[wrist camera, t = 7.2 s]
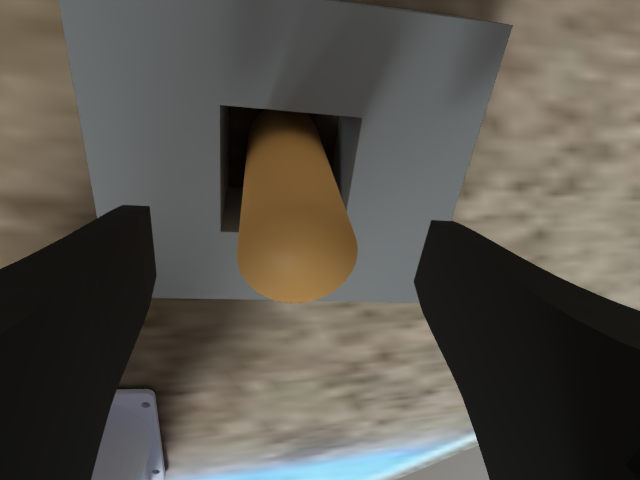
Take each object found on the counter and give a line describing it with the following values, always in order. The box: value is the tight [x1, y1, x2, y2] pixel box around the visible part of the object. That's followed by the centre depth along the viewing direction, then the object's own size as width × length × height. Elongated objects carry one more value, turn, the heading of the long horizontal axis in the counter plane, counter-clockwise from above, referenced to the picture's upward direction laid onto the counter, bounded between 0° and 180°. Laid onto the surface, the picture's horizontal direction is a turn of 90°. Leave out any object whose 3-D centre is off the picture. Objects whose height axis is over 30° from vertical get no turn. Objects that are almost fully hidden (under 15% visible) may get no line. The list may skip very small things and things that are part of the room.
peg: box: [237, 109, 358, 303], centre depth 14 cm, size 3×3×9 cm
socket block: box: [58, 0, 513, 303], centre depth 16 cm, size 11×13×4 cm
